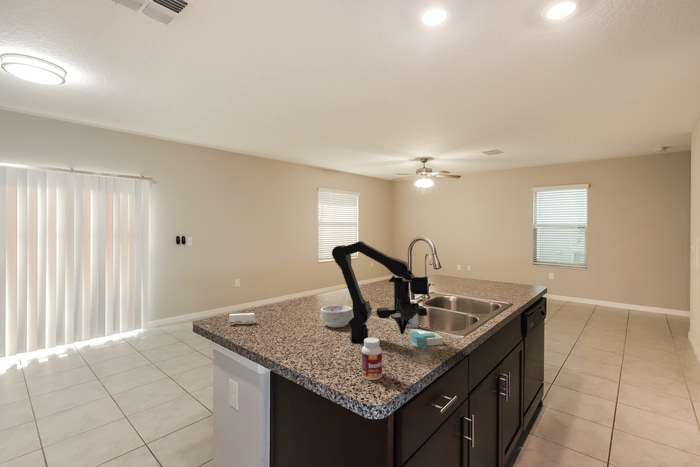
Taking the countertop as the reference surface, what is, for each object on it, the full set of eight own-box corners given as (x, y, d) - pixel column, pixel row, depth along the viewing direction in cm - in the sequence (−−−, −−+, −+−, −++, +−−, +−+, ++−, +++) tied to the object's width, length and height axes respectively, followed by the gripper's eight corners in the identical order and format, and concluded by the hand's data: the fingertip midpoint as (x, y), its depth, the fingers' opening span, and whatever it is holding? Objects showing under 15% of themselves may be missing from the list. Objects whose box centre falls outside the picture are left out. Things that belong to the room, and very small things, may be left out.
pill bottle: (368, 382, 92) (368, 345, 92) (357, 374, 98) (357, 338, 98) (386, 377, 95) (385, 341, 95) (374, 370, 101) (374, 335, 101)
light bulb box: (418, 328, 143) (417, 304, 143) (403, 327, 144) (402, 304, 144) (418, 321, 153) (417, 299, 153) (403, 321, 155) (403, 299, 155)
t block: (419, 348, 119) (419, 340, 119) (410, 339, 129) (409, 331, 129) (439, 346, 120) (439, 338, 120) (428, 337, 130) (428, 330, 130)
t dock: (427, 345, 121) (427, 339, 121) (420, 339, 128) (420, 333, 128) (442, 344, 122) (442, 337, 122) (435, 338, 129) (435, 332, 129)
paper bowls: (342, 318, 161) (342, 303, 161) (359, 326, 148) (358, 309, 148) (315, 323, 153) (315, 307, 153) (329, 332, 140) (329, 314, 140)
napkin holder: (222, 327, 151) (222, 315, 151) (239, 320, 162) (239, 309, 162) (246, 330, 145) (246, 318, 145) (263, 323, 155) (262, 312, 155)
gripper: (383, 299, 113) (384, 342, 114) (433, 296, 117) (433, 339, 117) (376, 293, 124) (376, 333, 125) (421, 291, 127) (421, 329, 128)
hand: (402, 333), depth 123 cm, fingers closed
